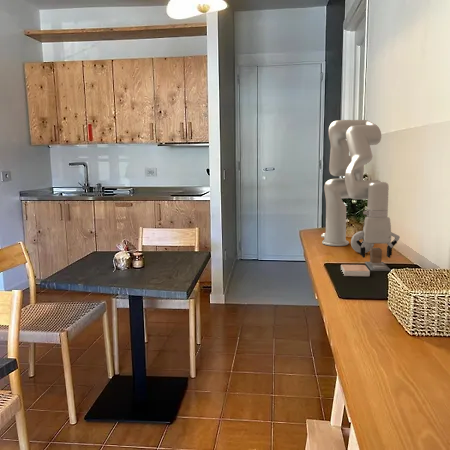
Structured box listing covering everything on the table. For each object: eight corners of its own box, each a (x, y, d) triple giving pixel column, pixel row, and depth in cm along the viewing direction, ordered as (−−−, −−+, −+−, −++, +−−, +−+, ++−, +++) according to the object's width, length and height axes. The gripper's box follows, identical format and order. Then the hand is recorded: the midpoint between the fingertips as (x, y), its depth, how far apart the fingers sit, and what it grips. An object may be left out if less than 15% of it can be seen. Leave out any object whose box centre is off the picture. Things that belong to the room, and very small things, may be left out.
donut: (350, 253, 198) (351, 231, 197) (350, 252, 202) (350, 230, 200) (374, 254, 197) (375, 231, 195) (373, 252, 200) (374, 230, 198)
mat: (364, 263, 182) (364, 261, 182) (382, 263, 181) (382, 261, 181) (371, 270, 170) (371, 269, 170) (390, 271, 169) (390, 269, 169)
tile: (340, 264, 173) (344, 270, 164) (365, 264, 172) (369, 271, 163) (340, 270, 173) (344, 276, 164) (364, 270, 172) (369, 277, 163)
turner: (368, 262, 180) (369, 247, 179) (380, 262, 180) (380, 247, 179) (374, 268, 171) (374, 253, 170) (386, 268, 170) (386, 253, 169)
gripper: (356, 215, 172) (355, 259, 175) (403, 215, 170) (401, 259, 173) (352, 212, 180) (351, 254, 182) (397, 212, 178) (396, 254, 181)
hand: (375, 256), depth 178 cm, fingers open, 9 cm apart
